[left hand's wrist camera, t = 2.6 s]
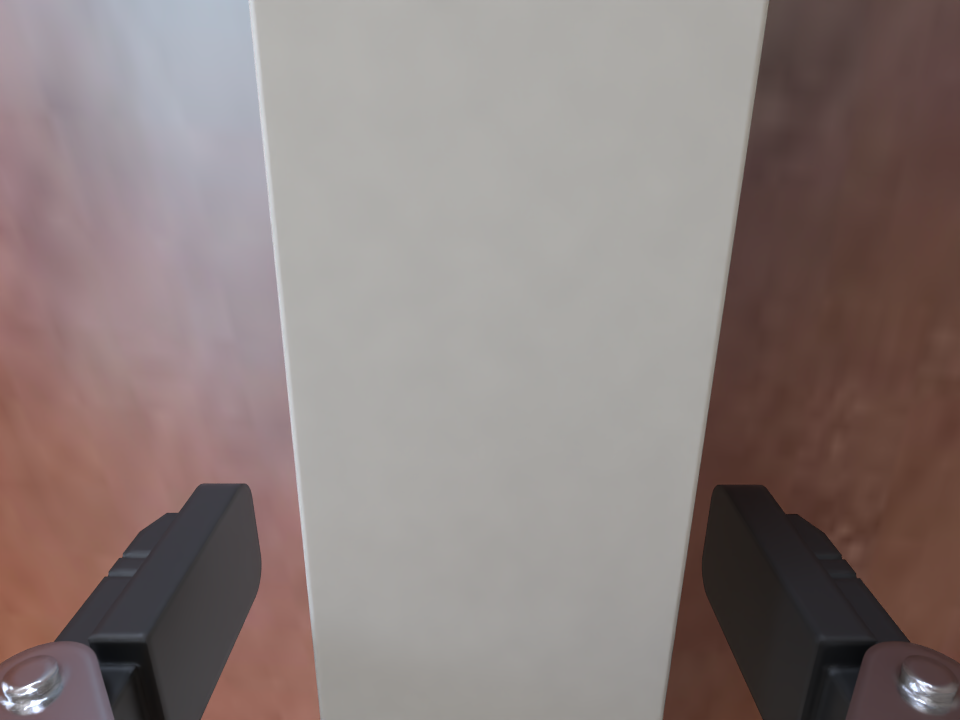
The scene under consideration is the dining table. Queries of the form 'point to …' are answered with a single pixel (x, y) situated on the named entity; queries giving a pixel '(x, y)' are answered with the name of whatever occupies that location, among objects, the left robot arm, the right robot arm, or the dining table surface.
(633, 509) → the bar
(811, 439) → the dining table surface
